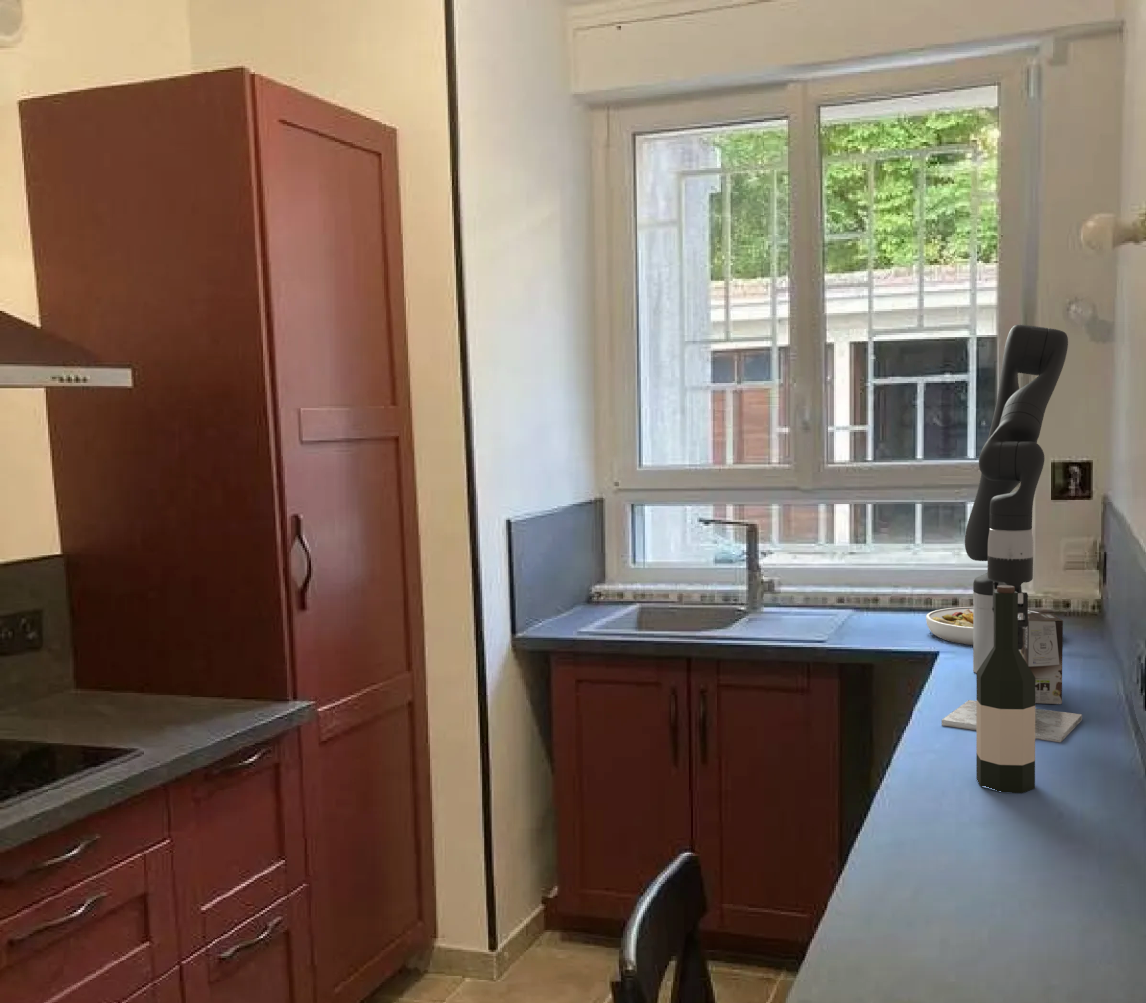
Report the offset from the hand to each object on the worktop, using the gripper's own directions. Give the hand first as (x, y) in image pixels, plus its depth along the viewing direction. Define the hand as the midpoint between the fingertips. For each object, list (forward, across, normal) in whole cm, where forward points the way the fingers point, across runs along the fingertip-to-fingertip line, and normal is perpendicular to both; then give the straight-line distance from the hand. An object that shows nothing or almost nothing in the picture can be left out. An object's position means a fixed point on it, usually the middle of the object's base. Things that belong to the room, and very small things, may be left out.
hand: (1009, 643), depth 198 cm
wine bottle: (+14, -34, +9) cm, 38 cm away
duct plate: (+14, 0, -1) cm, 14 cm away
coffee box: (+15, +17, -10) cm, 25 cm away
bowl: (+16, +77, -16) cm, 80 cm away
